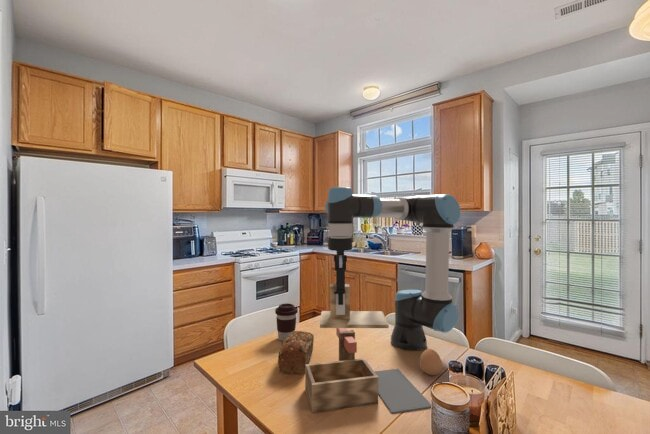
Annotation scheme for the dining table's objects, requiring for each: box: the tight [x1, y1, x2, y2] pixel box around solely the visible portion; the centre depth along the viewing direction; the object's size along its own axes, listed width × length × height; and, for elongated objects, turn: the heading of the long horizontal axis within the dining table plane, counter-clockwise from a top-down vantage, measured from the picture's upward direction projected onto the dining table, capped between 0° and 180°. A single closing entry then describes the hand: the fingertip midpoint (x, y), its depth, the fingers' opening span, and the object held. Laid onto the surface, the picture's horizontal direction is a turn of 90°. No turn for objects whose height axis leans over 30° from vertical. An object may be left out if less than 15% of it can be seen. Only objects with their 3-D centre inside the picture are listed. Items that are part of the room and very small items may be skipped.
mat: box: [373, 368, 432, 414], centre depth 98 cm, size 13×22×1 cm, turn 13°
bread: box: [277, 330, 315, 376], centre depth 115 cm, size 19×11×10 cm, turn 173°
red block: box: [335, 328, 358, 354], centre depth 110 cm, size 3×16×4 cm, turn 13°
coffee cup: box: [274, 303, 298, 342], centre depth 137 cm, size 10×10×15 cm
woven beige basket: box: [304, 329, 379, 414], centre depth 98 cm, size 20×22×14 cm
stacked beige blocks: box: [319, 283, 390, 329], centre depth 94 cm, size 20×12×11 cm, turn 88°
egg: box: [419, 348, 443, 376], centre depth 107 cm, size 7×7×8 cm
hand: (340, 312), depth 94 cm, fingers closed on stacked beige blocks, 3 cm apart
